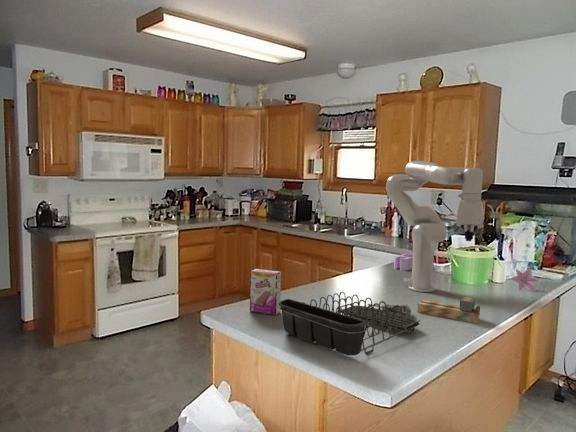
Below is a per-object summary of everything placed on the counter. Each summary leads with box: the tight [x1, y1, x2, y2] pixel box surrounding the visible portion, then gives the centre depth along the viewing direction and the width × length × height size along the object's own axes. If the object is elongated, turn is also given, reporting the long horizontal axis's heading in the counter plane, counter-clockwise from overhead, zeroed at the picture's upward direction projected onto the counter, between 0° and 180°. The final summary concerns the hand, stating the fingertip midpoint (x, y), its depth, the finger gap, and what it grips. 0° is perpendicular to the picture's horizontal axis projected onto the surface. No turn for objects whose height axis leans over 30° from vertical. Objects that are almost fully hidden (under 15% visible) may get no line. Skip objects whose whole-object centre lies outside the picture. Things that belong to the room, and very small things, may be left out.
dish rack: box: [279, 291, 421, 356], centre depth 154 cm, size 34×44×12 cm
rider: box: [459, 296, 476, 312], centre depth 171 cm, size 4×6×5 cm
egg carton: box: [382, 303, 412, 317], centre depth 175 cm, size 11×8×4 cm
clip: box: [393, 253, 413, 271], centre depth 262 cm, size 20×12×7 cm, turn 130°
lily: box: [509, 268, 539, 293], centre depth 219 cm, size 12×12×10 cm
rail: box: [417, 299, 481, 324], centre depth 175 cm, size 22×6×5 cm, turn 58°
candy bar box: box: [249, 268, 282, 316], centre depth 174 cm, size 11×5×16 cm, turn 71°
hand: (468, 240), depth 190 cm, fingers closed
